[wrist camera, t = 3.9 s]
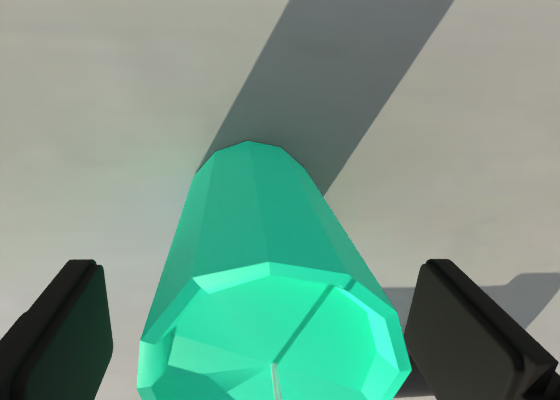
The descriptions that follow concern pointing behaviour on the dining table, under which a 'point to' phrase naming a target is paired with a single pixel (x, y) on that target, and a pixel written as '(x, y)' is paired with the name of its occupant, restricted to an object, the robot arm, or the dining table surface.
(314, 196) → the candle
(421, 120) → the dining table surface
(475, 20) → the dining table surface
